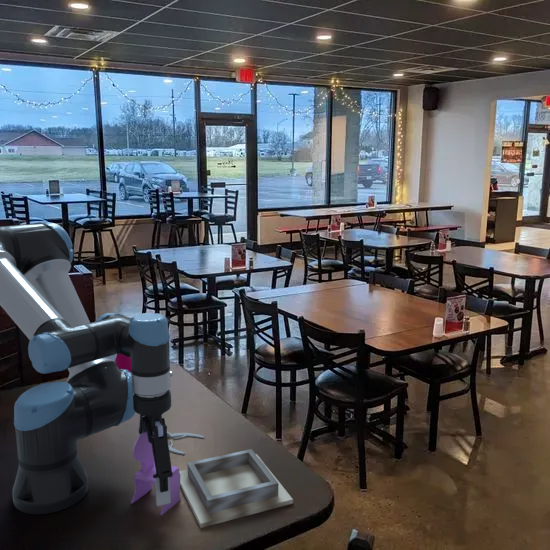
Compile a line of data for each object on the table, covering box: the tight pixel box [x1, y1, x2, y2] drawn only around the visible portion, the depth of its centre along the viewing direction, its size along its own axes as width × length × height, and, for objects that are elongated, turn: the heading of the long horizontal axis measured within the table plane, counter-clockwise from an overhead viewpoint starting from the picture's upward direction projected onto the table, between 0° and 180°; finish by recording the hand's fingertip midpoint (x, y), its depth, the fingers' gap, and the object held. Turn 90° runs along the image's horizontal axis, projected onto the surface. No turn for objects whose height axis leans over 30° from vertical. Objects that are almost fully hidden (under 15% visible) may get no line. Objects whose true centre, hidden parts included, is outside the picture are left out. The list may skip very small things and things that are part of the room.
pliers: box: [167, 430, 205, 456], centre depth 145 cm, size 10×2×15 cm
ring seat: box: [179, 448, 294, 529], centre depth 123 cm, size 20×20×4 cm
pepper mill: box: [114, 354, 132, 373], centre depth 181 cm, size 7×7×20 cm
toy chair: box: [130, 432, 181, 516], centre depth 118 cm, size 8×9×15 cm
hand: (155, 485), depth 118 cm, fingers open, 13 cm apart
